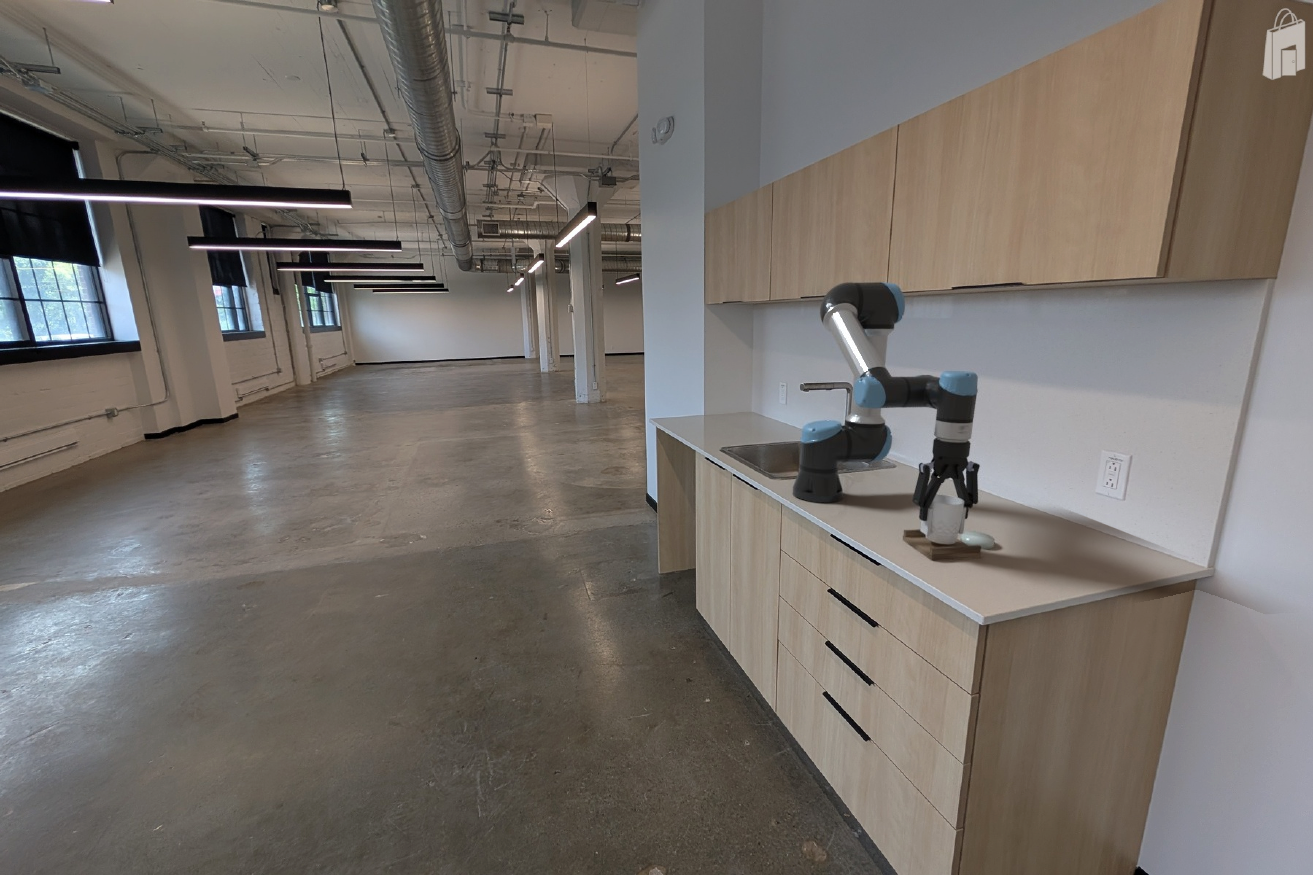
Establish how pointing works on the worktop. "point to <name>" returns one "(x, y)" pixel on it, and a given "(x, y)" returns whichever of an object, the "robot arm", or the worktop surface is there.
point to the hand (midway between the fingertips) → (941, 532)
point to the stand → (940, 547)
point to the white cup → (945, 519)
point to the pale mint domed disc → (978, 539)
